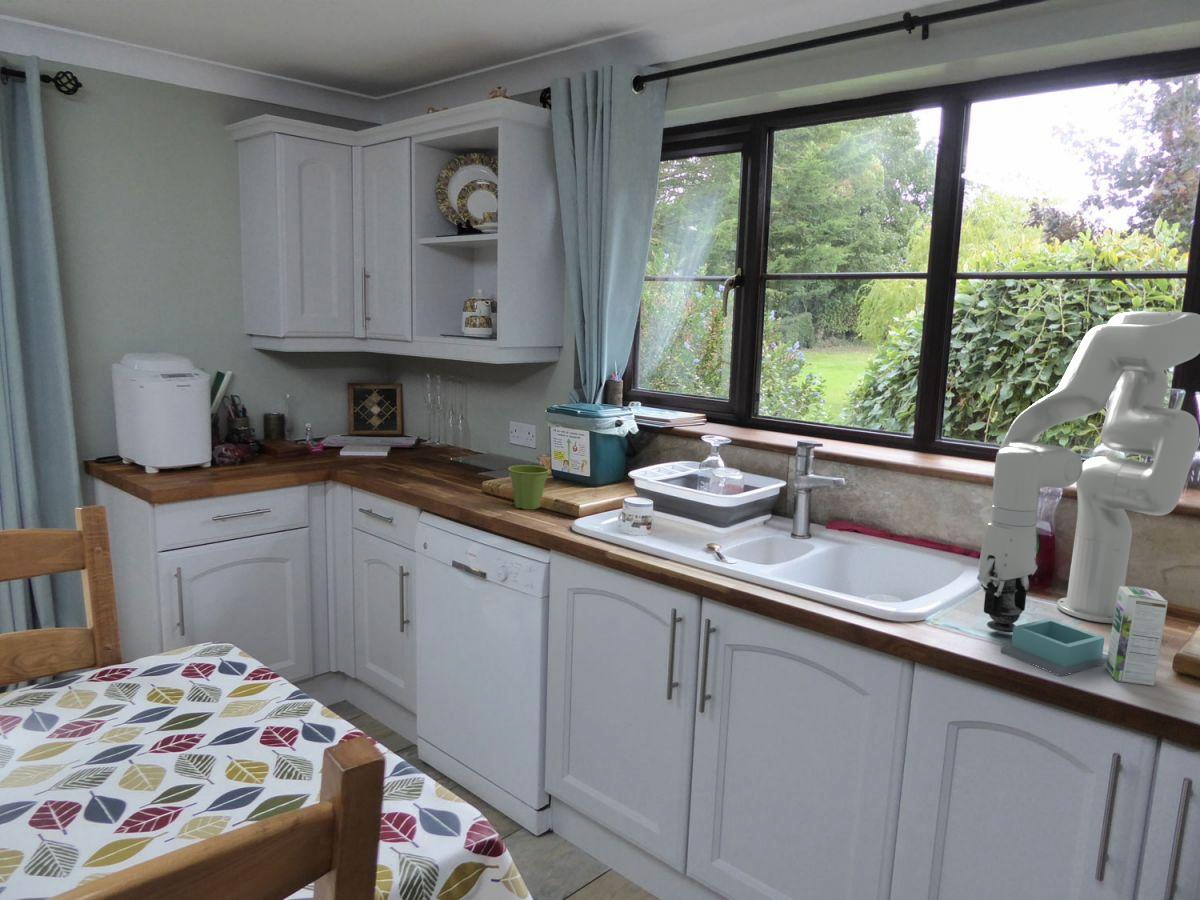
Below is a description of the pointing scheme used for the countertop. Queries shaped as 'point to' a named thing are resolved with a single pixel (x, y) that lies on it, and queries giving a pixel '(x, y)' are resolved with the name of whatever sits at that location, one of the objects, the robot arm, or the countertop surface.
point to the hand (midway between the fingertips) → (1004, 610)
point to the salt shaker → (1006, 609)
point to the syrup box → (1136, 635)
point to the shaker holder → (1056, 647)
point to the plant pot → (528, 485)
